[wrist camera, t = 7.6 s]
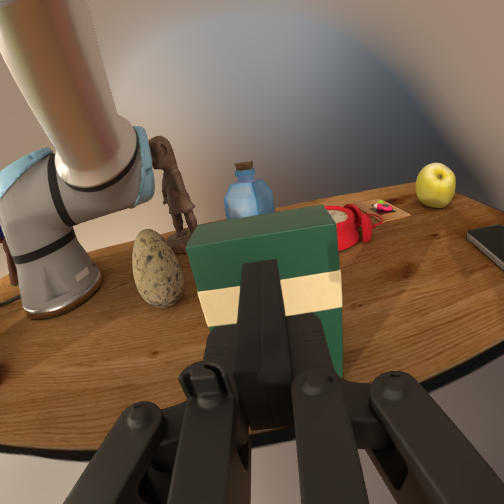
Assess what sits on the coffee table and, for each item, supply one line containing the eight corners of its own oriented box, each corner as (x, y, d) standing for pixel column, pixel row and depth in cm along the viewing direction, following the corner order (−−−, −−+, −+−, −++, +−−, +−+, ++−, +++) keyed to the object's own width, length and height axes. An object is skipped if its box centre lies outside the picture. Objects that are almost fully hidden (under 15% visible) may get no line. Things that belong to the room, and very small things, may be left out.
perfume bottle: (276, 224, 59) (267, 159, 55) (260, 235, 54) (250, 163, 50) (246, 224, 62) (237, 162, 58) (229, 234, 57) (218, 166, 53)
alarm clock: (276, 215, 52) (359, 181, 51) (290, 248, 54) (369, 214, 53) (286, 238, 43) (387, 196, 41) (302, 276, 45) (396, 235, 43)
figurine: (158, 253, 56) (129, 143, 48) (183, 237, 62) (158, 135, 54) (198, 255, 52) (168, 132, 44) (221, 237, 58) (197, 126, 50)
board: (379, 199, 63) (379, 192, 62) (411, 216, 52) (411, 208, 51) (353, 204, 62) (352, 197, 62) (381, 222, 51) (381, 214, 51)
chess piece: (25, 274, 60) (9, 234, 56) (31, 277, 58) (14, 235, 54) (9, 283, 57) (-7, 243, 53) (15, 287, 54) (-3, 244, 50)
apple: (447, 151, 50) (427, 181, 59) (420, 158, 49) (400, 190, 58) (472, 185, 47) (447, 212, 56) (445, 195, 46) (421, 224, 55)
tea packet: (343, 379, 23) (337, 223, 18) (230, 395, 24) (184, 247, 19) (334, 347, 27) (323, 204, 22) (233, 362, 28) (195, 224, 23)
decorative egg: (137, 312, 39) (110, 239, 35) (167, 289, 43) (146, 220, 39) (169, 322, 36) (141, 241, 32) (200, 296, 40) (179, 220, 36)
